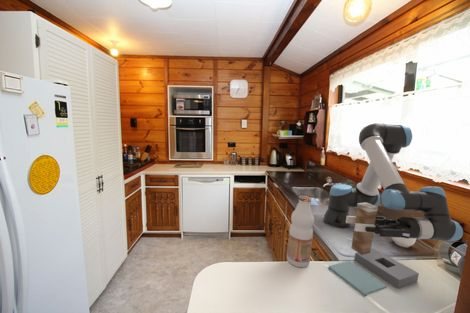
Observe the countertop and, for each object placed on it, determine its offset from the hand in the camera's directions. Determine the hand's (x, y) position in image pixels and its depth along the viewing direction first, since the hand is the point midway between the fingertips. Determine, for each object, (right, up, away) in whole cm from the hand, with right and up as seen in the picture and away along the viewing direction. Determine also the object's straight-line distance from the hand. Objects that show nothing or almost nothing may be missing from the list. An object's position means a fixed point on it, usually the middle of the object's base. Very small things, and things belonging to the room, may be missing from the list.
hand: (350, 223), depth 84 cm
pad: (+4, -22, +3) cm, 22 cm away
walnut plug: (+4, -11, +1) cm, 12 cm away
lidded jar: (+43, -21, +33) cm, 58 cm away
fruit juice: (-17, -20, +11) cm, 28 cm away
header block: (+18, -22, +8) cm, 30 cm away
